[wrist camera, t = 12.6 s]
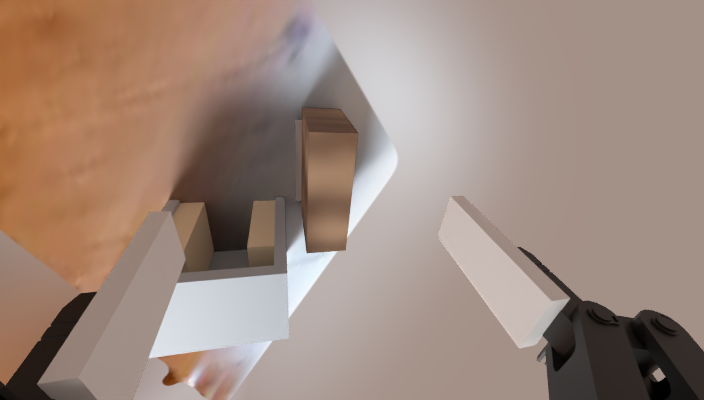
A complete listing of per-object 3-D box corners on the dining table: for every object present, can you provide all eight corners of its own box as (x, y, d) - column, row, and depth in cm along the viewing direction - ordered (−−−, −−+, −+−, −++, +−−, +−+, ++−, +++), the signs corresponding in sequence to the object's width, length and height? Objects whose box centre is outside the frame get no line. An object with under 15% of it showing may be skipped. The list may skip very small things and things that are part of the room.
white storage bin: (168, 199, 35) (111, 288, 23) (284, 196, 38) (287, 273, 26) (184, 260, 40) (145, 358, 28) (286, 252, 43) (289, 338, 31)
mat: (295, 119, 33) (295, 120, 33) (345, 121, 35) (345, 122, 34) (295, 199, 39) (295, 201, 38) (338, 198, 40) (339, 199, 40)
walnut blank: (302, 107, 32) (308, 132, 25) (340, 109, 33) (358, 133, 26) (301, 209, 39) (306, 253, 32) (333, 208, 40) (345, 250, 33)
